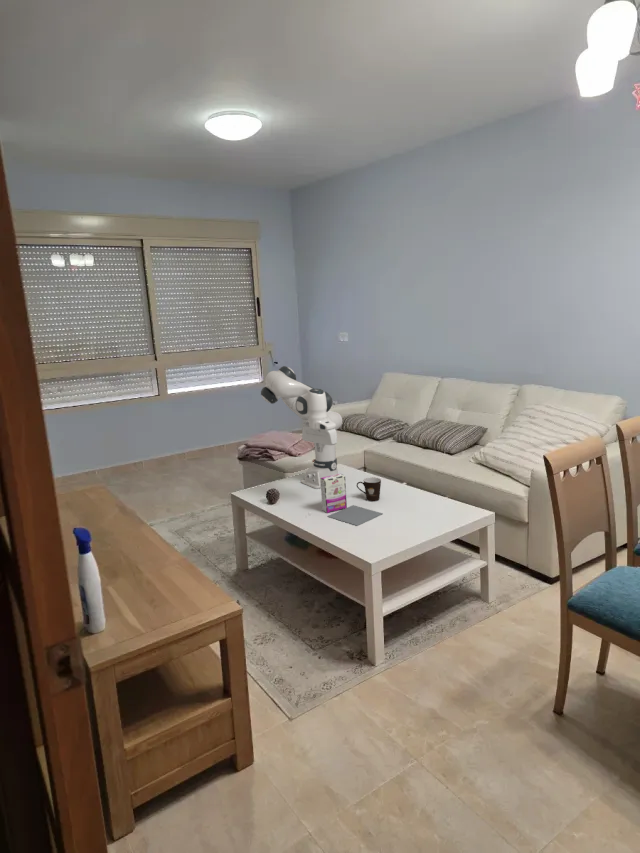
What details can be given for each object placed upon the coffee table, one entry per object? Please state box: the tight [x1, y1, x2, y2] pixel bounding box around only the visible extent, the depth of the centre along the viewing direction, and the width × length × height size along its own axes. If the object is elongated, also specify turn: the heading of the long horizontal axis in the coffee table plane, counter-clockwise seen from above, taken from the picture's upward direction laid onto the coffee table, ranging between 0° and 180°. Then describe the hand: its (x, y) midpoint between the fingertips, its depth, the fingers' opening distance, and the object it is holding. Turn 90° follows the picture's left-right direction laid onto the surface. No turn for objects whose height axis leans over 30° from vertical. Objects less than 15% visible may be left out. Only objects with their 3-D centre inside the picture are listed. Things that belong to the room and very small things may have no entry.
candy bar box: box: [320, 473, 348, 514], centre depth 268 cm, size 11×5×16 cm, turn 118°
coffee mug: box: [356, 476, 382, 502], centre depth 281 cm, size 12×9×10 cm
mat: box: [327, 504, 384, 527], centre depth 261 cm, size 18×18×1 cm
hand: (319, 451), depth 270 cm, fingers closed
